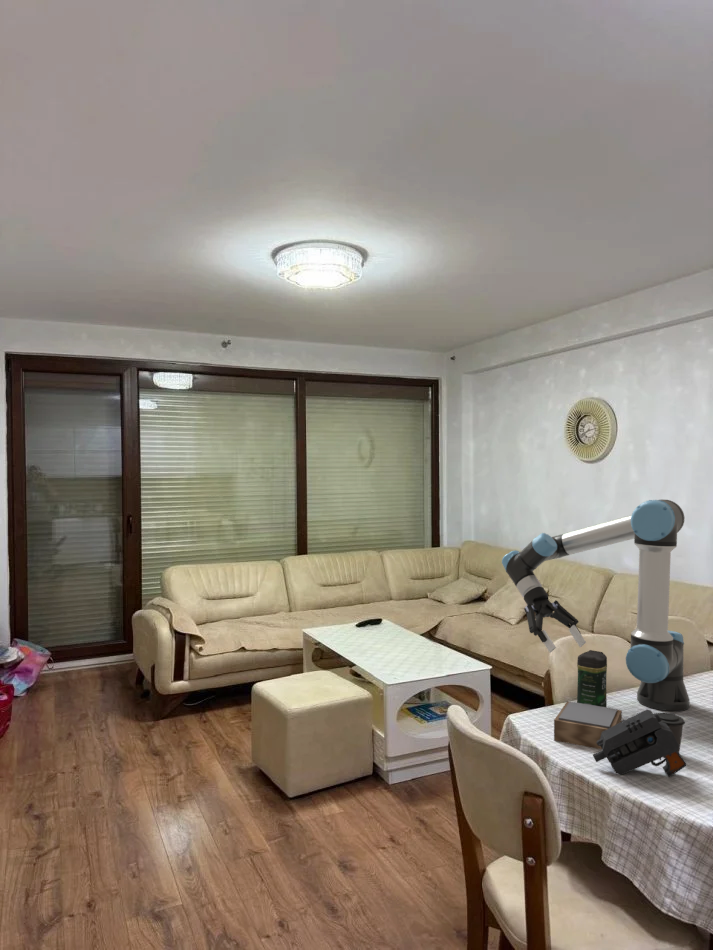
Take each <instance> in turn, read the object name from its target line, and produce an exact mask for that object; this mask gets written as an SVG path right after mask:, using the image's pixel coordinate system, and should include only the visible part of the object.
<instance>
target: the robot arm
mask: <svg viewBox="0 0 713 950" xmlns="http://www.w3.org/2000/svg"><path fill="white" fill-rule="evenodd" d="M684 524H685V513H684V511H683V509H682V508H681V506H680V505H679V504H678V503H676V502H675V501H672V500H670V499H649V500H646V501H643V502H641V503H640V504H639V505H637V506H636V507H635V508H634V510H633V511H632V513H631V514H629V515H627V516H623V517H619V518H616V519H612V520H609V521H608V520H607V521H605V522H601V523H598V524H594V525H590V526H588V527H583V528H580V529H577V530H572V531H569V532H566V533H562V534H558V535H554V536H551V535H549V534H547V533H545V532H542V533H540V534H538V535H537V536H535V537H534V538H533V540H531V542H530V543H528V544H527V545H526V546H525V547H524V548H523V549H522V550H512V551H510V552H508V553H506V554H505V555H504V556H503V557H502V559H501V564H502V566H503V568H504V570H505V572H506V573H507V575H508V576H509V578H510V579H511V581H512V583H514V586H515V587H516V589H517V590H518V592H519V594H520V595H521V596H522V598H523V600H524V602H525V604H526V606H525V607H524V608H523V610H524V612H525V613H526V618H527V619H526V620H527V623H528V624H527V625H528V630H529V633H530V634H533V635H534V636H535V637H537V636H538V638H539V640H540V641H541V642H542V643H543V644H544V646H545V648H546V649H547V651H548V652H549V653H550V654H551V653H552V652H553V651H554V650H555V649H557V647H556V645H555V643H554V642H553V640H552V639H551V637H550V636H549V634H548V632H547V630H546V629H543V624H544V623H543V621H544V618H549V617H550V618H551V619H554V620H556V621H558V622H559V623H561V624H562V625H564V626H565V627H567V628H568V632H569V633H570V635H571V636H572V638H573V640H574V641H575V642H576V643H577V645H578V647H579V648H581V647H583V646H584V645H585V644H586V643H587V642H586V640H585V638H584V637H583V635H582V634H581V631H580V629H579V628H578V627H577V625H578V623H579V622H580V621H579V620H578V619H577V618H576V617H575V616H573V615H572V614H571V613H570V612H569V611H568V610H567V609H565V608H564V607H563V606H562V605H561V604H560V603H559V601H558V600H554V601H553V602H552V601H550V600H549V594H548V593H547V591H546V589H545V588H544V587H543V584H542V583H541V582H540V580H539V579H538V577H537V576H536V574H535V573H534V571H535V570H536V569H537V568H538V567H539V566H541V565H542V564H543V563H544V562H546V561H551V560H555V559H561V558H563V557H567V556H570V555H575V554H579V553H583V552H585V551H591V550H594V549H598V548H602V547H607V546H609V545H614V544H618V543H622V542H625V541H627V542H628V541H630V540H634V541H633V542H634V545H635V547H636V548H638V550H639V554H638V555H639V556H638V557H639V558H638V576H637V577H638V581H637V584H638V585H637V606H636V607H637V609H636V611H637V613H636V627H635V629H634V630H632V631H631V633H630V646H629V649H628V650H627V652H626V655H625V664H626V667H627V670H628V672H629V673H630V674H631V675H632V676H633V677H634V678H635V679H636V680H638V681H640V684H639V686H638V689H637V691H636V692H637V693H636V700H638V701H639V702H640V704H641V705H643V706H645V707H648V708H651V709H655V710H662V711H670V712H678V711H679V712H680V711H685V710H688V709H690V707H691V706H690V705H691V704H690V702H691V701H690V696H689V693H688V691H687V688H686V685H685V683H684V647H685V646H684V645H685V643H684V636H683V634H682V633H680V632H677V631H675V630H674V631H673V630H669V611H670V609H669V607H670V582H671V581H670V579H671V559H672V558H671V555H672V554H671V553H672V551H673V550H675V549H676V548H677V543H678V533H679V532H680V531H681V530H682V528H683V526H684ZM638 701H637V702H638ZM639 702H638V703H639Z"/></svg>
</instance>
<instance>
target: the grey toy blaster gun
mask: <svg viewBox="0 0 713 950" xmlns="http://www.w3.org/2000/svg"><path fill="white" fill-rule="evenodd" d="M657 713H658V712H655V713H653V712H652V710H651V709H648V708H647V709H645V710H642V711H641V712H638V713H636V714H635V715H632V716H630V717H629V718H626V719H623V721H622V722H621V723H619V724H617V725H615V726H613V727H611V728H609V729H607V730H605V731H603V732H602V733H601V737H600V740H598V741H597V742H596V743H597V745H598V746H601V748H602V750H600V751H598V752H596V753H595V752H594V754H592V758H594V761H595V762H596V763H598V762H600V761H603V760H604V759H607V761H608V762H609V763H610V766H611V767H612V769H613V771H614V772H615V774H616V775H619V776H622V775H625V774H626V773H629V772H632V771H634V770H636V769H639V768H640V767H643V766H645V765H648V764H652V766H655V767H659V766H662V765H663V764H664V763H665V765H664V766H662V769H663V771H664V773H665V774H666V776H667V777H668V778H671V777H672V776H674V775H675V774H676V773H678V772H679V771H681V770H682V769H684V768H685V767H687V762H686V761H685V759H684V758H683V757H682V755H681V754H680V752H679V753H678V752H677V751H678V748H679V744H678V742H677V740H676V738H675V737H674V735H673V733H672V731H671V730H670V728H669V727H668V726H667V724H666V723H663V722H660V721H661V719H660V717H659V715H658V714H657ZM662 758H664V759H662ZM658 760H659V762H655V761H658Z"/></svg>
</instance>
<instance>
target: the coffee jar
mask: <svg viewBox="0 0 713 950" xmlns="http://www.w3.org/2000/svg"><path fill="white" fill-rule="evenodd" d="M576 664H577V666H576V667H577V691H576V692H577V694H576V703H582V704H589V705H595V706H601V707H607V708H608V706H607V705H608V702H607V700H608V699H607V675H608V674H607V671H608V669H607V668H608V658H607V655H606V654H605V653H604V652H603V651H598V650H594V649H593V650H592V649H590V650H588V651H584V652H583V653H581V654H579V655H577V662H576Z"/></svg>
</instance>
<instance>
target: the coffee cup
mask: <svg viewBox="0 0 713 950" xmlns="http://www.w3.org/2000/svg"><path fill="white" fill-rule="evenodd" d="M656 713H657V714H658V715H659V717H660V719H661V721H660V722H663V723H666V724H667V726H668V727H669V728H670V730H671V731H672V733H673V735H674V737H675V738H676V740H677V742H678V744H679V748H678V751H677V752H678V753H679V754H680V752H681V751H680V750H681V742H682V735H683V726H684V725H685V724H686V722H685V720H684V718H682V716H679V715H676V714H675V713H672V712H656Z"/></svg>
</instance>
